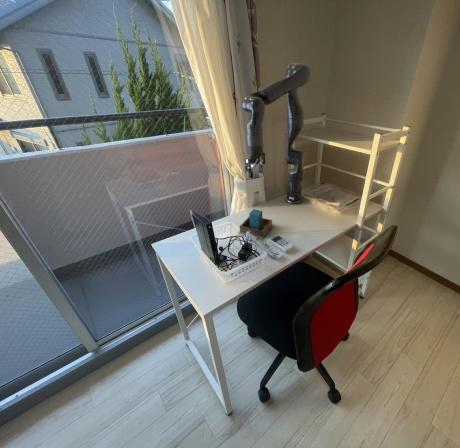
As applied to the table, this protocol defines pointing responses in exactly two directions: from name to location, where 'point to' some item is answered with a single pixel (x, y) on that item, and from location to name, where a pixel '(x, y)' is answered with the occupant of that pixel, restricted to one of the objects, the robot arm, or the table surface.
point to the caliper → (255, 240)
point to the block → (256, 219)
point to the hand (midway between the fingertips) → (256, 175)
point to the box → (260, 233)
